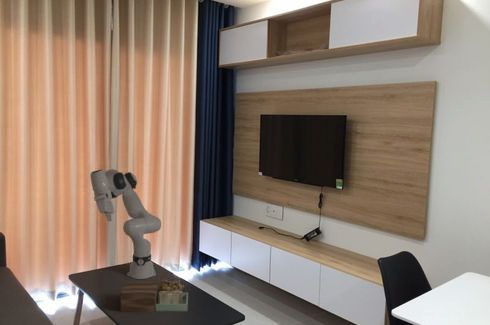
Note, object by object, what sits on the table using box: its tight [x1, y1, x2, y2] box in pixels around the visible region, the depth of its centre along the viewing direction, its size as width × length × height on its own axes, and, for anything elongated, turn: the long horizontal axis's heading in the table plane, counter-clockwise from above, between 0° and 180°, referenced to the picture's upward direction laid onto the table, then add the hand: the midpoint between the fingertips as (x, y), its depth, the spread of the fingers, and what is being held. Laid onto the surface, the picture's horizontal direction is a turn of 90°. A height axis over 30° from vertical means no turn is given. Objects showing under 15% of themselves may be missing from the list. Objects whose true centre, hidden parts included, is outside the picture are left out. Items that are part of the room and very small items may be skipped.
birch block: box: [160, 290, 183, 304], centre depth 237 cm, size 5×6×12 cm
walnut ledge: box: [120, 282, 159, 313], centre depth 233 cm, size 16×18×10 cm
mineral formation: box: [158, 279, 185, 293], centre depth 251 cm, size 8×13×15 cm
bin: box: [155, 292, 189, 313], centre depth 236 cm, size 16×17×4 cm
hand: (109, 221), depth 234 cm, fingers closed
